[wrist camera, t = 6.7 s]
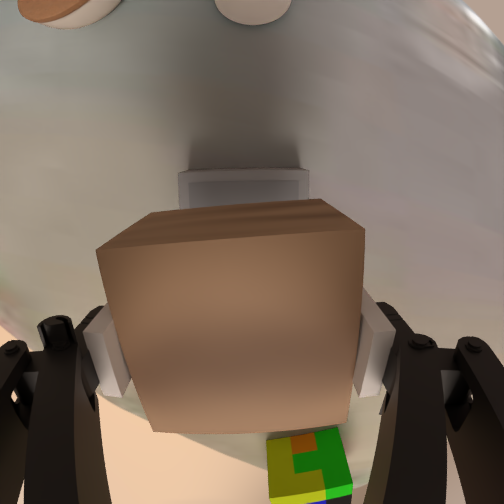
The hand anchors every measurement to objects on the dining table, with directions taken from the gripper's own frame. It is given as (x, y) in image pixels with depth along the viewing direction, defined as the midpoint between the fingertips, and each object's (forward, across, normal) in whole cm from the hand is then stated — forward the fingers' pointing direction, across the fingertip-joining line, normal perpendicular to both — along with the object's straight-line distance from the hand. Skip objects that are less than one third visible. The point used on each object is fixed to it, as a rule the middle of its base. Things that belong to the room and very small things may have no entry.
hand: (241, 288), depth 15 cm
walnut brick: (0, 0, 0) cm, 0 cm away
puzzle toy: (+14, +8, -34) cm, 38 cm away
